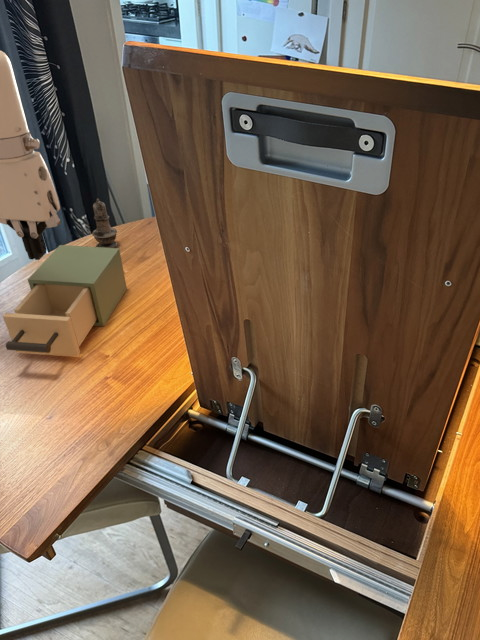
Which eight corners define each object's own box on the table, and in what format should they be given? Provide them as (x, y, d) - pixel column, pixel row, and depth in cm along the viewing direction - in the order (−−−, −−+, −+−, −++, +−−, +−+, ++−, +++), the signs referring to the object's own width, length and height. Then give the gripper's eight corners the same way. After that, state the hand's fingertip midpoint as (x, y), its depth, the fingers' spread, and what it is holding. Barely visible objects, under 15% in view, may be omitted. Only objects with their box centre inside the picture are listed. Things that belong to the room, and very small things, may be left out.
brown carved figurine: (118, 239, 131) (109, 192, 124) (120, 249, 127) (111, 201, 119) (94, 242, 130) (83, 195, 122) (95, 252, 125) (84, 204, 118)
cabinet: (103, 326, 101) (93, 283, 95) (41, 322, 102) (27, 279, 96) (127, 288, 113) (119, 248, 106) (70, 285, 113) (59, 244, 107)
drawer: (66, 374, 89) (55, 337, 84) (2, 369, 89) (-13, 332, 84) (104, 315, 103) (96, 281, 98) (48, 312, 103) (37, 277, 98)
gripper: (64, 141, 80) (88, 249, 92) (-28, 135, 81) (8, 243, 93) (41, 156, 74) (70, 270, 86) (-57, 149, 75) (-15, 262, 87)
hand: (38, 255), depth 90 cm, fingers closed
